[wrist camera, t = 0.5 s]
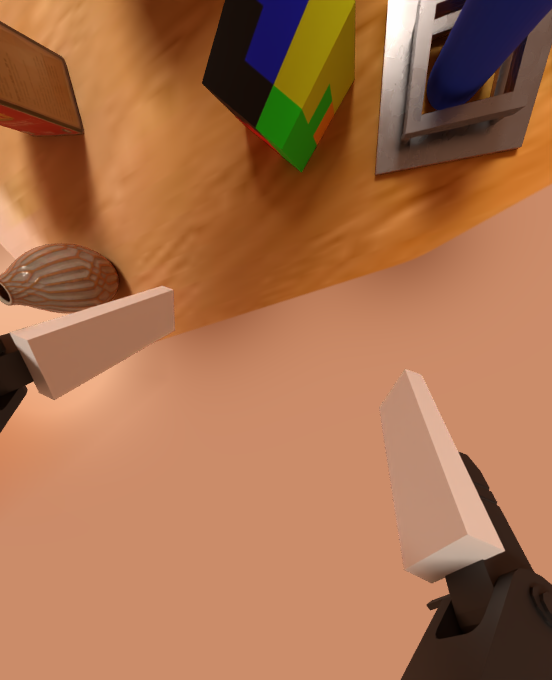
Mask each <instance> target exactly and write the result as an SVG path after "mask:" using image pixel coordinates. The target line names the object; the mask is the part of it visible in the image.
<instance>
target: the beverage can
mask: <svg viewBox="0 0 552 680" xmlns="http://www.w3.org/2000/svg"><path fill="white" fill-rule="evenodd" d="M551 9H552V0H466V2H465V4H464V6H463V8H462V10H461V12H460V14H459V16H458V18H457V20H456V22H455V24H454V26H453V28H452V30H451V32H450V34H449V36H448V38H447V40H446V42H445V44H444V46H443V48H442V50H441V52H440V54H439V56H438V58H437V60H436V62H435V64H434V66H433V68H432V70H431V73H430V75H429V79H428V83H427V97H428V100H429V103H430V104H431V106H432V107H433V108H435V109H436V110H442V109H446V108H450V107H454V106H458V105H462V104H465V103H466V102H467V101H469V100H470V99H471V98H472V97H473V96H474V94H475V93H476V92H477V91H478V90H479V89H480V88H481V87H482V86H483V84H484V83H485V82H486V81H487V80H488V79H489V78H490V77H491V76H492V75H493V73H494V72H495V71H496V70H497V69H498V68H499V67H500V66H501V65H502V63H503V62H504V61H505V60H506V59H507V58H508V57H509V56H510V55H511V53H512V52H513V51H514V50H515V49H516V48H517V47H518V46H519V45H520V43H521V42H522V41H523V40H524V39H525V38H526V37H527V36H528V35H529V33H530V32H531V31H532V30H533V29H534V28H535V27H536V26H537V25H538V23H539V22H540V21H541V20H542V19H543V18H544V17H545V16H546V15H547V13H548V12H549V11H550V10H551Z"/></svg>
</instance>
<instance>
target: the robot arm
mask: <svg viewBox="0 0 552 680" xmlns="http://www.w3.org/2000/svg"><path fill="white" fill-rule="evenodd" d="M173 331H175V321H174V293H173V289H170V288H167V287H164V286H160V287H157V288H154V289H150V290H147V291H144V292H140V293H137V294H134V295H131V296H127V297H124V298H121V299H118V300H114V301H111V302H108V303H104V304H101V305H98V306H95V307H91V308H88V309H85V310H82V311H78V312H75V313H72V314H68V315H65V316H62V317H59V318H56V319H52V320H49V321H46V322H42V323H39V324H36V325H33V326H29V327H26V328H23V329H20V330H16V331H13V332H10V333H8V334H5V335H1V336H0V432H1V431H2V429H3V428H4V427H5V425H6V423H7V422H8V420H9V419H10V418H11V416H12V415H13V413H14V412H15V410H16V409H17V407H18V406H19V404H20V403H21V401H22V400H23V398H24V397H25V395H26V393H27V388H26V386H25V385H27V384H29V383H31V382H33V381H34V383H35V385H36V387H37V389H38V391H39V393H41V394H43V395H45V396H47V397H49V398H51V399H53V400H55V399H57V398H59V397H61V396H62V395H64V394H66V393H68V392H69V391H71V390H73V389H74V388H76V387H78V386H80V385H81V384H83V383H85V382H86V381H88V380H90V379H92V378H93V377H95V376H97V375H99V374H100V373H102V372H104V371H105V370H107V369H109V368H111V367H112V366H114V365H116V364H118V363H119V362H121V361H123V360H125V359H126V358H128V357H130V356H131V355H133V354H135V353H137V352H138V351H140V350H142V349H144V348H145V347H147V346H149V345H150V344H152V343H154V342H156V341H157V340H159V339H161V338H163V337H164V336H166V335H168V334H169V333H171V332H173ZM379 409H380V416H381V422H382V429H383V436H384V442H385V449H386V454H387V461H388V468H389V475H390V481H391V488H392V494H393V501H394V507H395V514H396V520H397V527H398V533H399V540H400V546H401V553H402V559H403V565H404V570H405V571H408V572H410V573H412V574H414V575H416V576H418V577H420V578H422V579H424V580H426V581H428V582H430V583H433V582H436V581H438V580H440V579H443V578H446V582H447V586H448V589H449V593H450V594H448V595H446V596H443V597H440V598H437V599H435V600H432V601H431V602H429V603H428V604H427V606H428V608H429V609H430V610H433V609H436V608H438V609H437V611H436V613H435V615H434V617H433V619H432V620H431V622H430V624H429V626H428V628H427V630H426V632H425V634H424V636H423V638H422V640H421V642H420V643H419V646H418V648H417V649H416V651H415V653H414V655H413V657H412V659H411V661H410V663H409V665H408V667H407V668H406V671H405V672H404V674H403V676H402V678H401V680H552V585H551V584H550V583H549V582H548V581H547V580H545V579H544V578H543V577H542V576H540V575H538V574H536V573H535V572H534V571H533V569H532V567H531V565H530V564H529V562H528V560H527V558H526V556H525V554H524V552H523V550H522V548H521V547H520V545H519V543H518V541H517V539H516V537H515V535H514V533H513V532H512V530H511V528H510V526H509V524H508V522H507V520H506V518H505V516H504V515H503V513H502V511H501V509H500V507H499V506H497V501H496V500H495V498H494V496H493V494H492V492H491V491H489V486H488V484H487V482H486V481H485V479H484V477H483V475H482V473H481V471H480V470H479V469H478V468H477V466H476V465H475V464H474V463H473V462H472V460H471V459H470V458H469V457H468V456H467V455H466V454H463V453H461V452H458V451H457V449H456V446H455V444H454V442H453V440H452V438H451V436H450V434H449V432H448V430H447V428H446V425H445V423H444V421H443V419H442V417H441V415H440V413H439V411H438V408H437V406H436V404H435V402H434V400H433V398H432V396H431V394H430V392H429V390H428V388H427V385H426V383H425V381H424V379H423V377H422V375H421V374H418V373H415V372H412V371H409V370H406V369H405V370H404V371H403V373H402V374H401V376H400V377H399V379H398V380H397V382H396V383H395V385H394V386H393V388H392V389H391V391H390V392H389V394H388V395H387V397H386V398H385V400H384V401H383V402H382V404H381V406H380V407H379Z"/></svg>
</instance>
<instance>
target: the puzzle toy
mask: <svg viewBox="0 0 552 680" xmlns="http://www.w3.org/2000/svg"><path fill="white" fill-rule="evenodd" d="M355 2H356V1H355V0H225V3H224V6H223V10H222V13H221V17H220V20H219V24H218V28H217V31H216V35H215V38H214V42H213V45H212V49H211V53H210V56H209V60H208V63H207V67H206V70H205V74H204V77H203V81H202V84H203V85H204V86H205V87H206V88H207V89H208V90H209V91H210V92H211V93H212V94H213V95H214V96H215V97H216V98H217V99H218V100H219V101H221V102H222V103H223V104H224V105H225V106H226V107H227V108H228V109H229V110H230V111H231V112H232V113H233V114H234V115H235V116H236V117H237V118H238V119H239V120H240V121H241V122H242V123H243V124H244V125H245V126H246V127H247V128H249V129H250V130H251V131H252V132H253V133H255V134H256V135H257V136H258V137H259V138H261V139H262V140H263V141H264V142H265V143H267V144H268V145H269V146H270V147H271V148H273V149H274V150H275V151H276V152H277V153H279V154H280V155H281V156H282V157H283V158H285V159H286V160H287V161H288V162H289V163H291V164H292V165H293V166H294V167H295V168H297V169H298V170H299V171H300V172H301V173H302V171H303V169H304V167H305V166H306V164H307V162H308V160H309V159H310V157H311V155H312V153H313V152H314V150H315V148H316V146H317V145H318V143H319V141H320V139H321V137H322V136H323V134H324V132H325V130H326V129H327V127H328V125H329V123H330V122H331V120H332V118H333V116H334V115H335V113H336V111H337V109H338V108H339V106H340V104H341V102H342V101H343V99H344V97H345V95H346V94H347V92H348V90H349V88H350V86H351V85H352V83H353V81H354V69H355Z"/></svg>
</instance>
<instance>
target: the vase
mask: <svg viewBox="0 0 552 680" xmlns="http://www.w3.org/2000/svg"><path fill="white" fill-rule="evenodd" d="M118 284H119V277H118V273H117V271H116V269H115V268H114V266H113V265H112V264H111V263H110V262H109V261H108V260H107V259H106V258H105V257H103V256H102V255H101V254H99V253H98V252H96V251H94V250H91V249H89V248H86V247H83V246H80V245H75V244H65V243H58V244H48V245H43V246H39V247H36V248H33V249H31V250H29V251H27V252H25V253H24V254H22V255H21V256H20V257H18V258H17V259H16V260H15V261H14V262H13V263H12V264H11V265H10V267H9V268H8V269H7V270H6V271H5V272H4V273H3V274H1V275H0V301H1V302H3V303H4V304H6V305H24V306H30V307H33V308H37V309H41V310H46V311H50V312H57V313H75V312H78V311H82V310H85V309H88V308H91V307H95V306H98V305H101V304H104V303H108V302H109V301H110V300H112V298H113V297H114V296H115V294H116V292H117V289H118Z"/></svg>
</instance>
